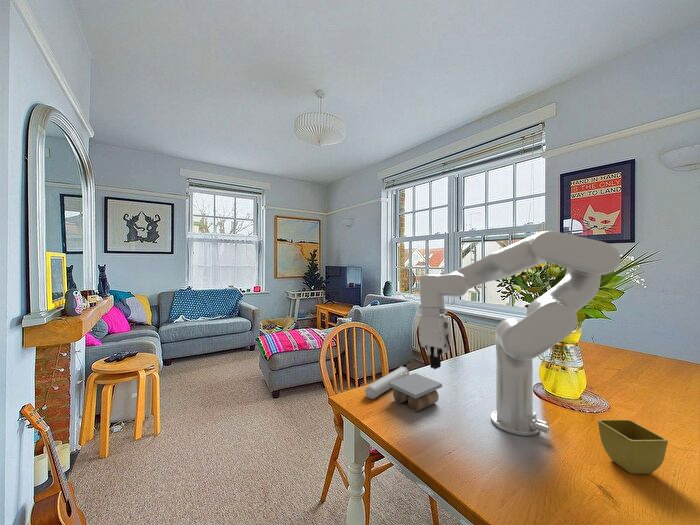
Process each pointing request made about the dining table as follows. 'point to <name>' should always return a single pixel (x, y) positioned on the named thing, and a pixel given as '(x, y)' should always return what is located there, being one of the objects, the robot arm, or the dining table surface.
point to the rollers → (418, 402)
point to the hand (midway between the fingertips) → (435, 367)
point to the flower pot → (632, 445)
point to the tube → (385, 382)
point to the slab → (415, 385)
